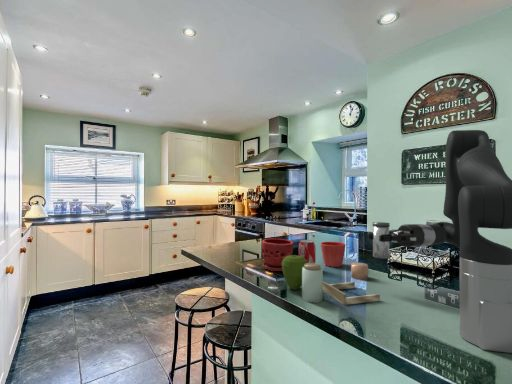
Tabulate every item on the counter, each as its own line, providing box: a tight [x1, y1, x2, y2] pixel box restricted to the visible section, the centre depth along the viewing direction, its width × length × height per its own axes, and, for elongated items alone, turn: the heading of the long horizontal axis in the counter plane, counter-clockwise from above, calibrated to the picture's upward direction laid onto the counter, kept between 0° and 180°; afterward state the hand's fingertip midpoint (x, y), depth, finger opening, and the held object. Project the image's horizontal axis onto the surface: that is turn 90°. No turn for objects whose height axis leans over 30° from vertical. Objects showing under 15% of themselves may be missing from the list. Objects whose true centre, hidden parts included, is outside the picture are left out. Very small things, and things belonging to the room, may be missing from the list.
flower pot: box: [320, 241, 346, 268], centre depth 122 cm, size 11×11×10 cm
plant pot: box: [261, 238, 294, 272], centre depth 114 cm, size 13×13×12 cm
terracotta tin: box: [350, 262, 369, 281], centre depth 104 cm, size 6×6×5 cm
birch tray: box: [322, 280, 381, 306], centre depth 84 cm, size 12×12×3 cm
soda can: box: [297, 239, 317, 264], centre depth 114 cm, size 7×7×12 cm
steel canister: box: [372, 221, 391, 259], centre depth 88 cm, size 5×5×11 cm
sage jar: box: [301, 262, 324, 304], centre depth 81 cm, size 6×6×10 cm
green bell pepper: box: [282, 254, 307, 291], centre depth 90 cm, size 9×8×12 cm
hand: (374, 236), depth 87 cm, fingers closed on steel canister, 4 cm apart
